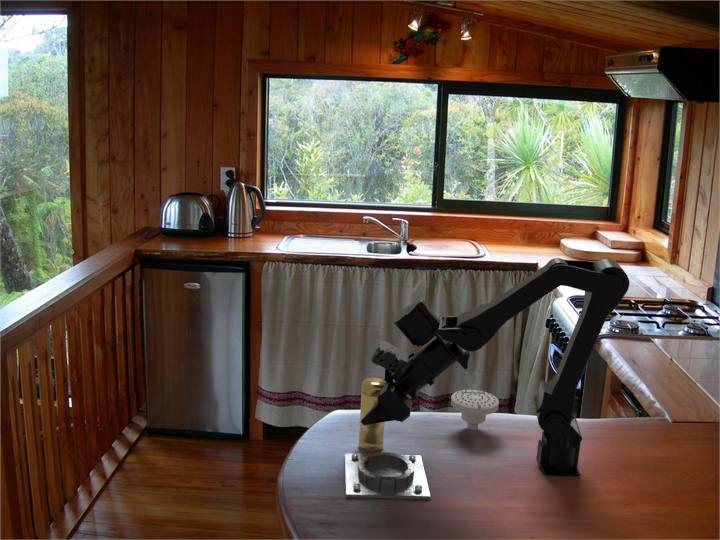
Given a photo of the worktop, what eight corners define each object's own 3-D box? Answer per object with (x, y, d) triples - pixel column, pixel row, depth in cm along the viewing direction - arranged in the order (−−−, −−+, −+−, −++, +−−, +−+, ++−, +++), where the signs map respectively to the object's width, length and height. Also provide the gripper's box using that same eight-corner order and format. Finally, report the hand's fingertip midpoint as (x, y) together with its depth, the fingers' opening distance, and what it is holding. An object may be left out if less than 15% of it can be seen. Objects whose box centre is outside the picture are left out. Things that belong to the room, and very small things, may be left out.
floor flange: (420, 458, 141) (421, 447, 140) (430, 499, 127) (430, 487, 127) (344, 456, 140) (345, 445, 140) (346, 497, 127) (346, 485, 126)
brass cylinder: (382, 441, 147) (385, 378, 143) (383, 453, 142) (387, 388, 139) (358, 440, 146) (361, 377, 143) (359, 452, 142) (362, 387, 139)
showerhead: (456, 404, 147) (448, 384, 157) (453, 439, 149) (446, 416, 159) (504, 406, 148) (494, 385, 157) (501, 440, 149) (491, 418, 159)
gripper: (404, 315, 147) (344, 363, 151) (394, 347, 129) (327, 401, 133) (442, 357, 148) (382, 404, 152) (438, 396, 130) (370, 447, 134)
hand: (365, 412), depth 143 cm, fingers open, 9 cm apart
